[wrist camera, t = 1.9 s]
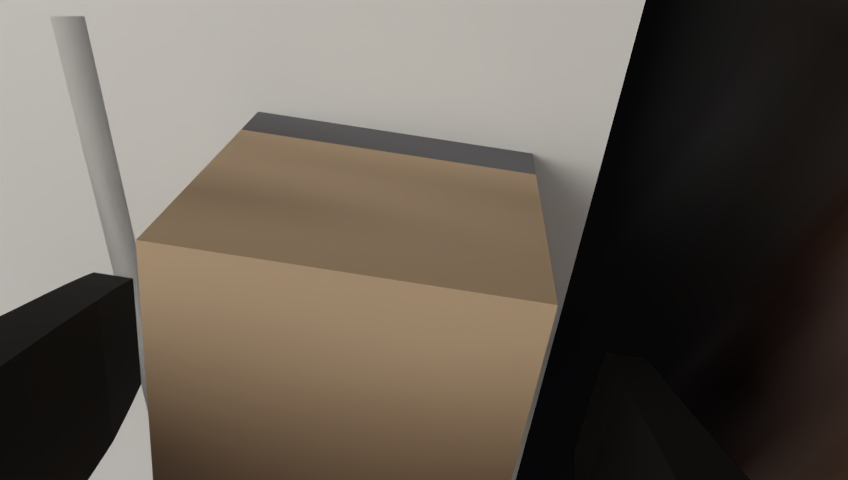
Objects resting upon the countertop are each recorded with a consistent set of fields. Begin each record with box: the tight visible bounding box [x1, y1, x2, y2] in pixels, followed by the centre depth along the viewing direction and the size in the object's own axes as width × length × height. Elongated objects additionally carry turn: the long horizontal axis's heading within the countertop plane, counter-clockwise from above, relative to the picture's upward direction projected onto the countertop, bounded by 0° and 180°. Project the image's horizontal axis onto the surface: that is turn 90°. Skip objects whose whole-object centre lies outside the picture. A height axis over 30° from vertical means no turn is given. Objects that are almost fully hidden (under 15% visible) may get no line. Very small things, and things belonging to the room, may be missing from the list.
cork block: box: [136, 112, 558, 480], centre depth 10 cm, size 7×4×4 cm, turn 172°
